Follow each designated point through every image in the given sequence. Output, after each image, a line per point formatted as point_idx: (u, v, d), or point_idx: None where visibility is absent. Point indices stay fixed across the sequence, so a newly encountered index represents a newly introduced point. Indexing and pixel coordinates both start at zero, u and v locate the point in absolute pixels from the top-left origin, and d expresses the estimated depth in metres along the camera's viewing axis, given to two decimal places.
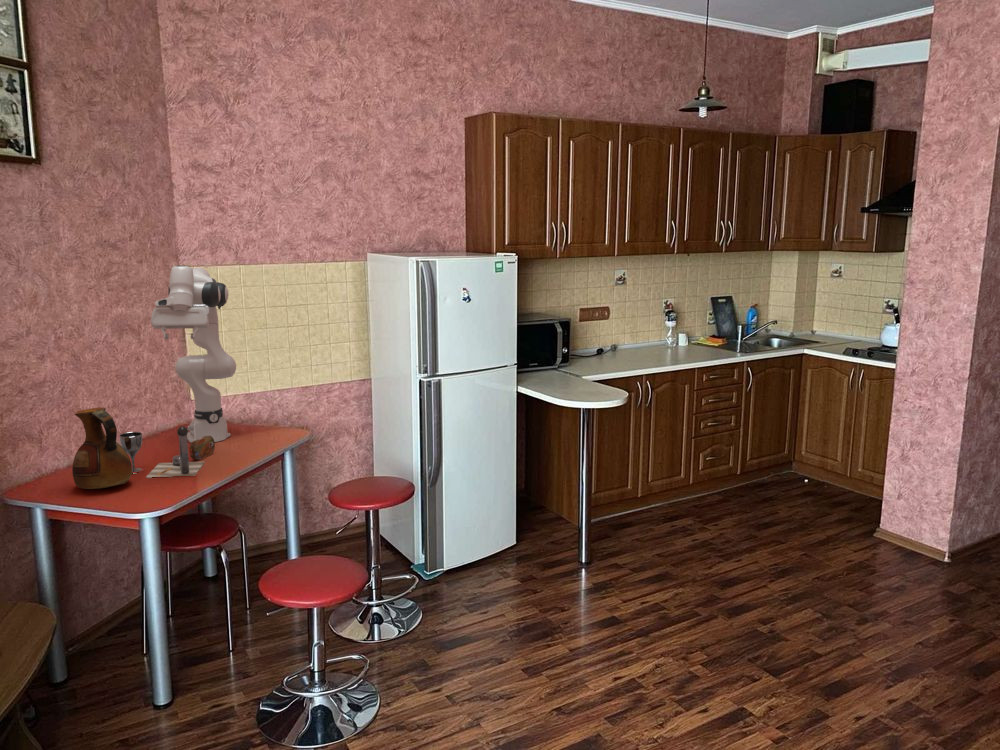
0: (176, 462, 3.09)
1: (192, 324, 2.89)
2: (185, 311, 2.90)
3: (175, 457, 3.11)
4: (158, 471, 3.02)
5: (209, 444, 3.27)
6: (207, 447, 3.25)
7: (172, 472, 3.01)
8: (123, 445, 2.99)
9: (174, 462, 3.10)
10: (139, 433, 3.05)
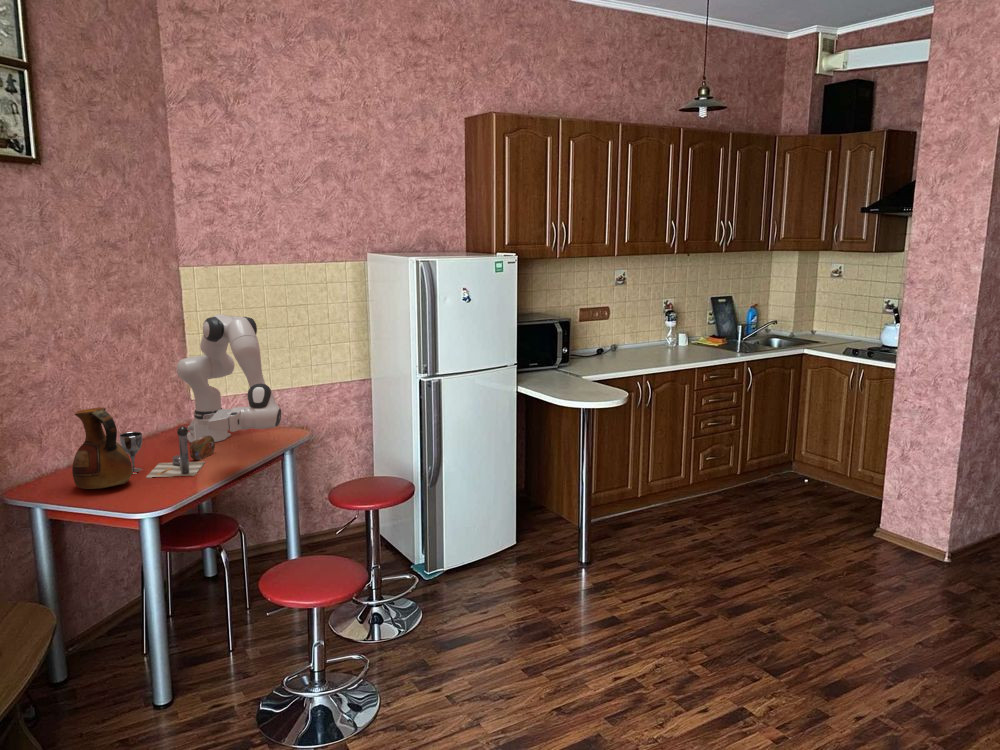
0: (176, 462, 3.09)
1: None
2: None
3: (175, 457, 3.11)
4: (158, 471, 3.02)
5: (209, 444, 3.27)
6: (207, 447, 3.25)
7: (172, 472, 3.01)
8: (123, 445, 2.99)
9: (174, 462, 3.10)
10: (139, 433, 3.05)
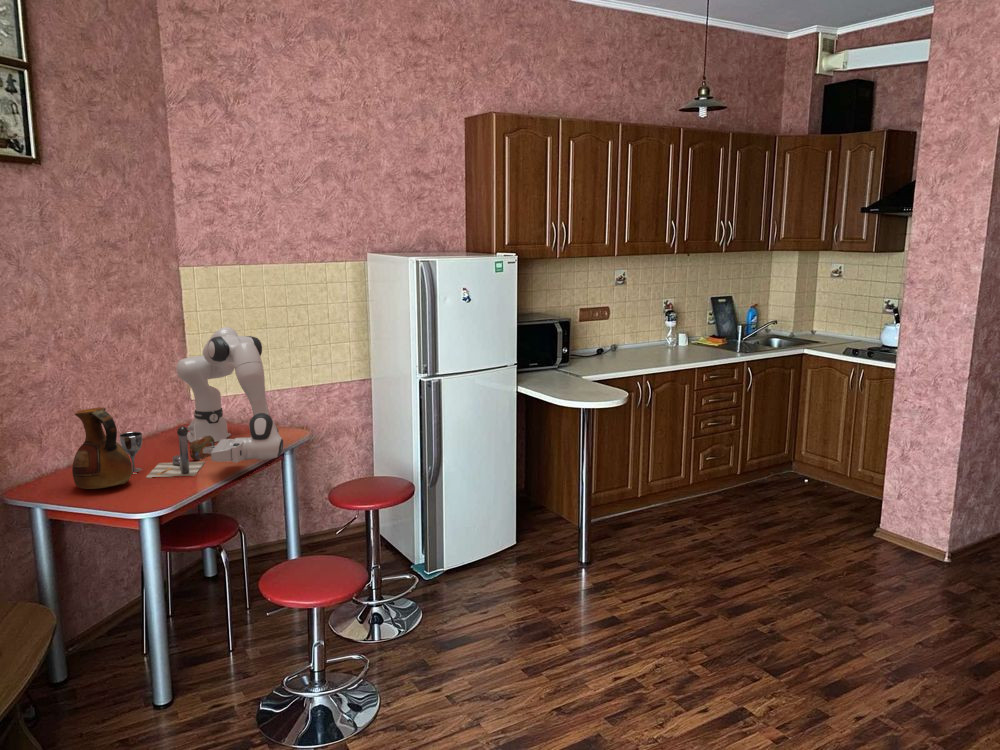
0: (176, 462, 3.09)
1: None
2: None
3: (175, 457, 3.11)
4: (158, 471, 3.02)
5: (209, 444, 3.27)
6: None
7: (172, 472, 3.01)
8: (123, 445, 2.99)
9: (174, 462, 3.10)
10: (139, 433, 3.05)
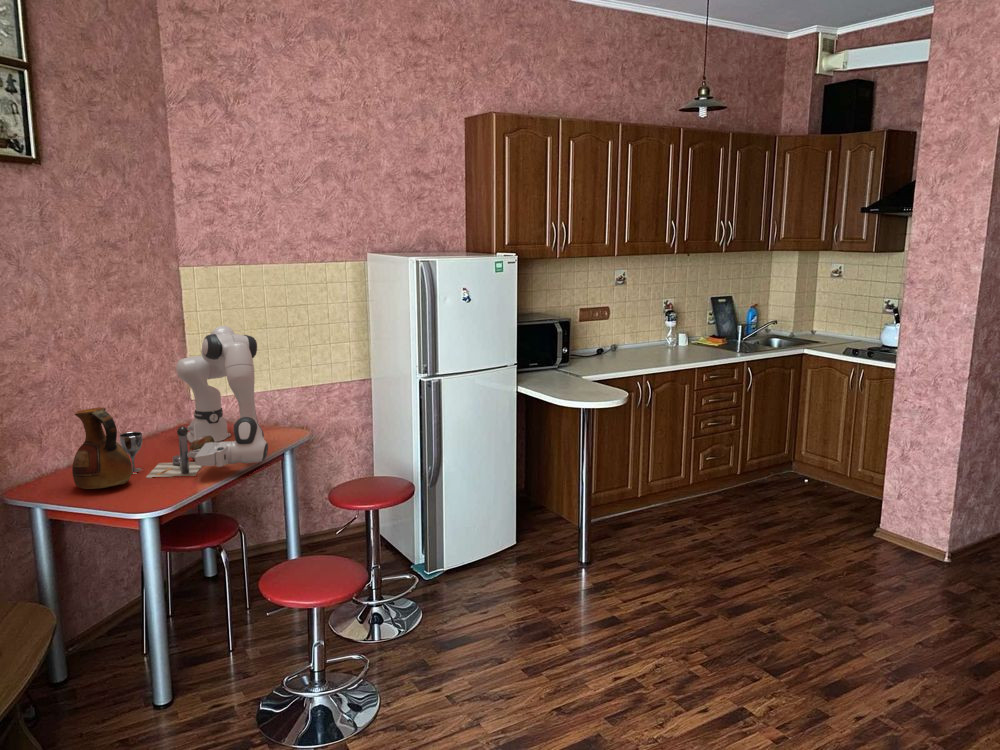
0: (176, 462, 3.09)
1: None
2: None
3: (175, 457, 3.11)
4: (158, 471, 3.02)
5: None
6: None
7: (172, 472, 3.01)
8: (123, 445, 2.99)
9: (174, 462, 3.10)
10: (139, 433, 3.05)
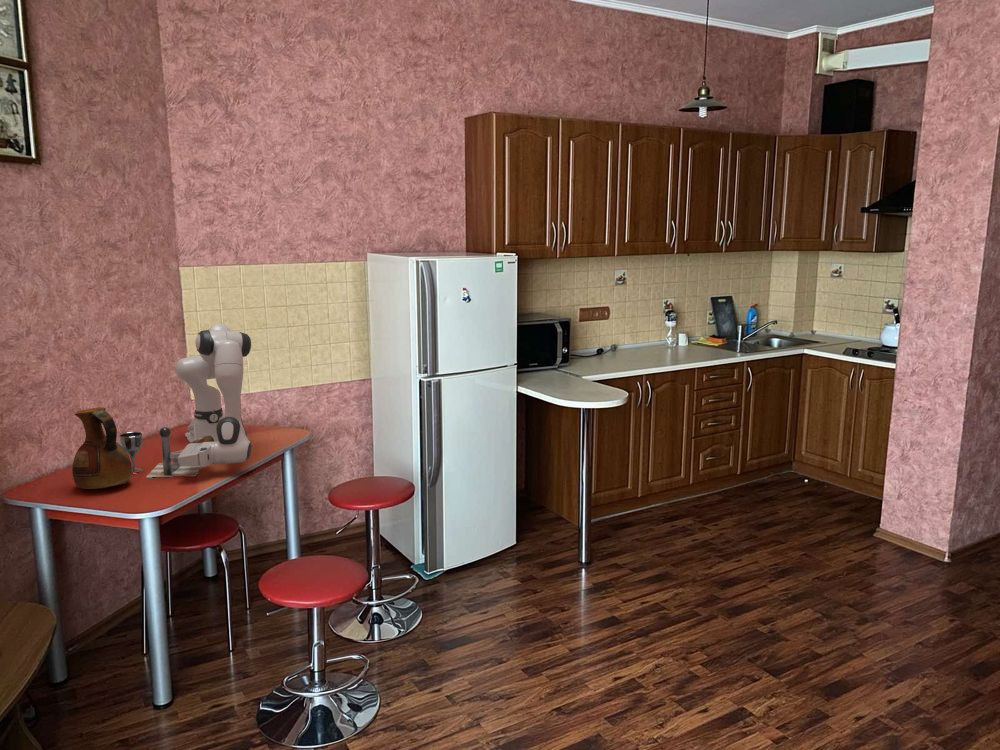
0: (173, 462, 3.10)
1: None
2: None
3: None
4: (158, 471, 3.02)
5: None
6: None
7: (172, 472, 3.01)
8: (123, 445, 2.99)
9: (173, 461, 3.11)
10: (139, 433, 3.05)
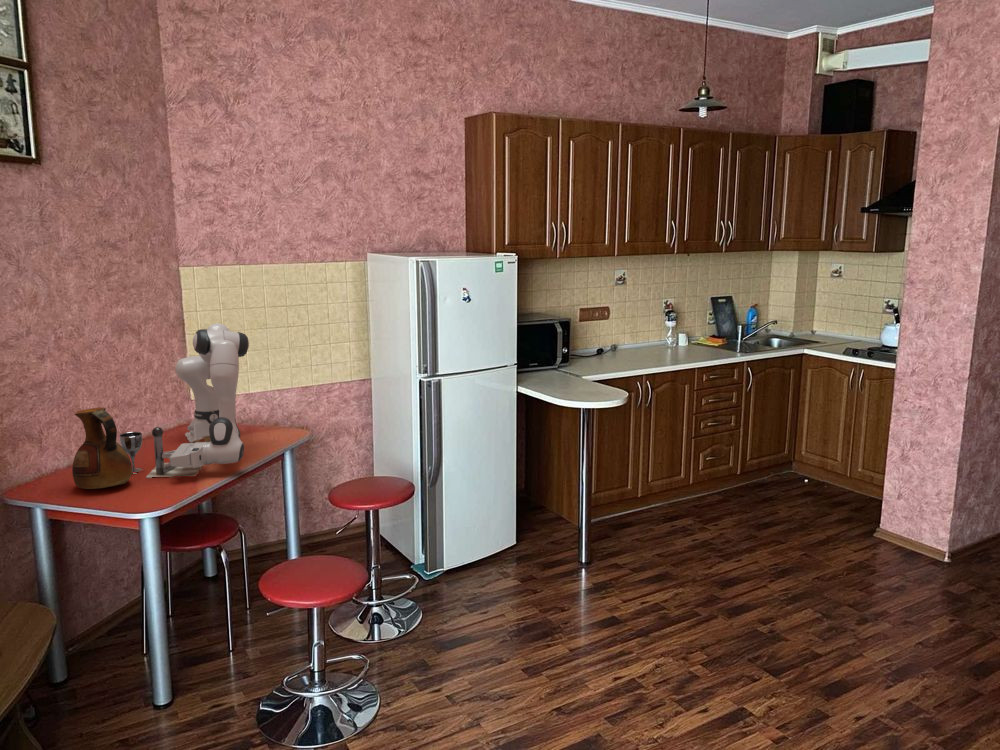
0: None
1: None
2: None
3: None
4: None
5: None
6: None
7: (172, 472, 3.01)
8: (123, 445, 2.99)
9: None
10: (139, 433, 3.05)
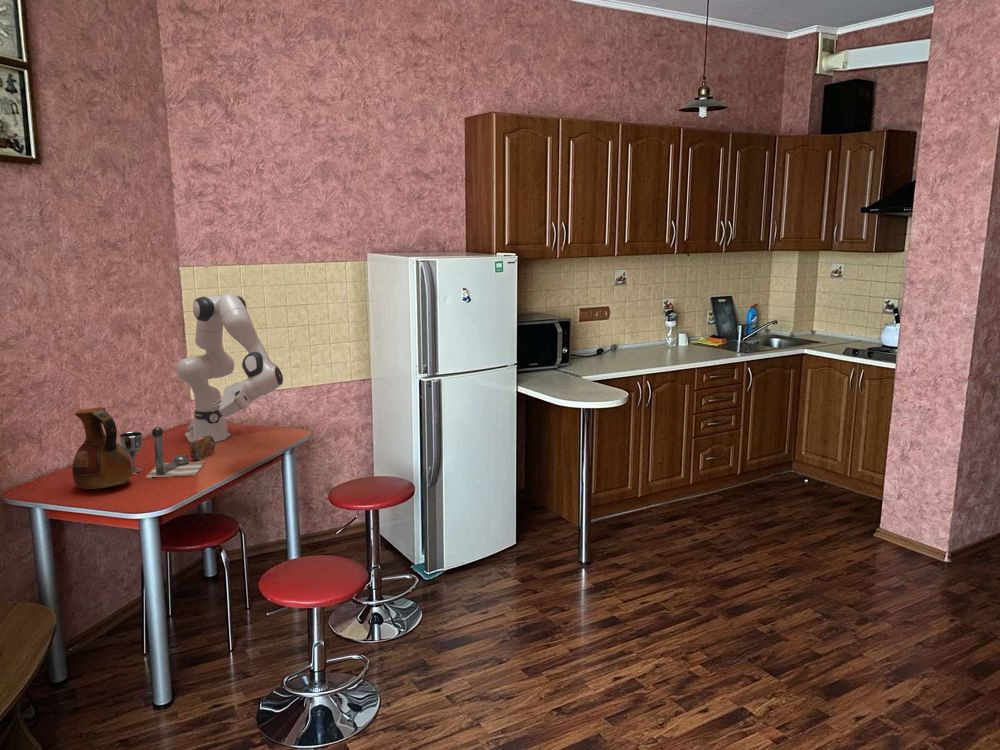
0: None
1: None
2: None
3: (176, 456, 3.12)
4: None
5: (209, 444, 3.27)
6: (207, 447, 3.25)
7: (172, 472, 3.01)
8: (123, 445, 2.99)
9: (172, 461, 3.11)
10: (139, 433, 3.05)
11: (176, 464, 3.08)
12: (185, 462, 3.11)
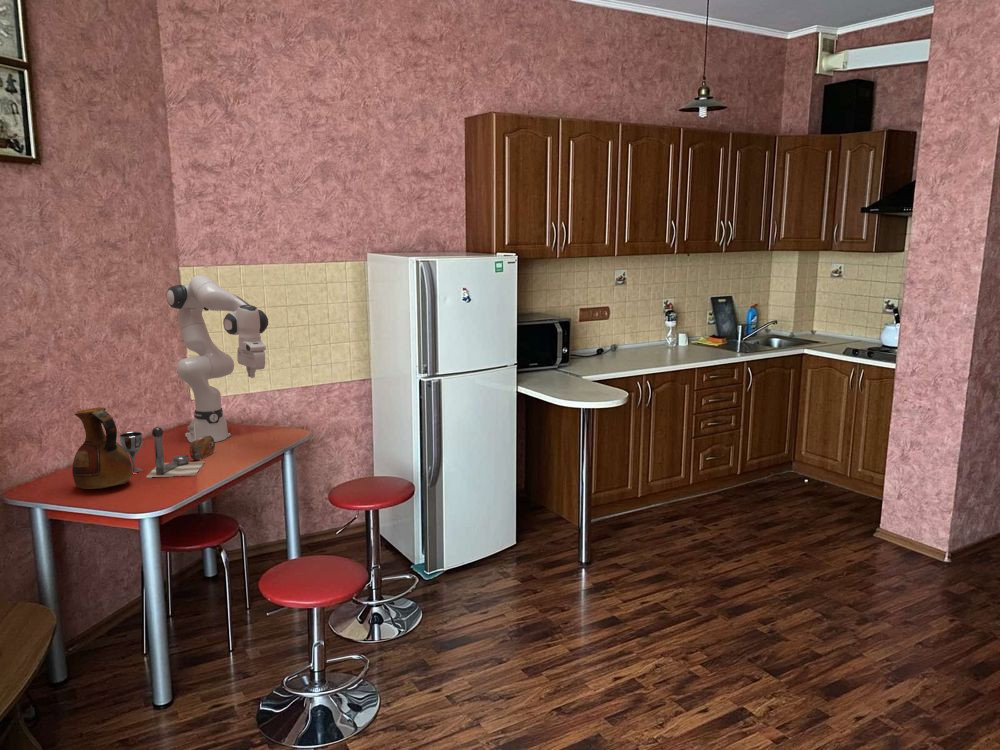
0: None
1: None
2: None
3: (176, 456, 3.12)
4: None
5: (209, 444, 3.27)
6: (207, 447, 3.25)
7: (172, 472, 3.01)
8: (123, 445, 2.99)
9: (172, 461, 3.11)
10: (139, 433, 3.05)
11: (176, 464, 3.08)
12: (185, 462, 3.11)
